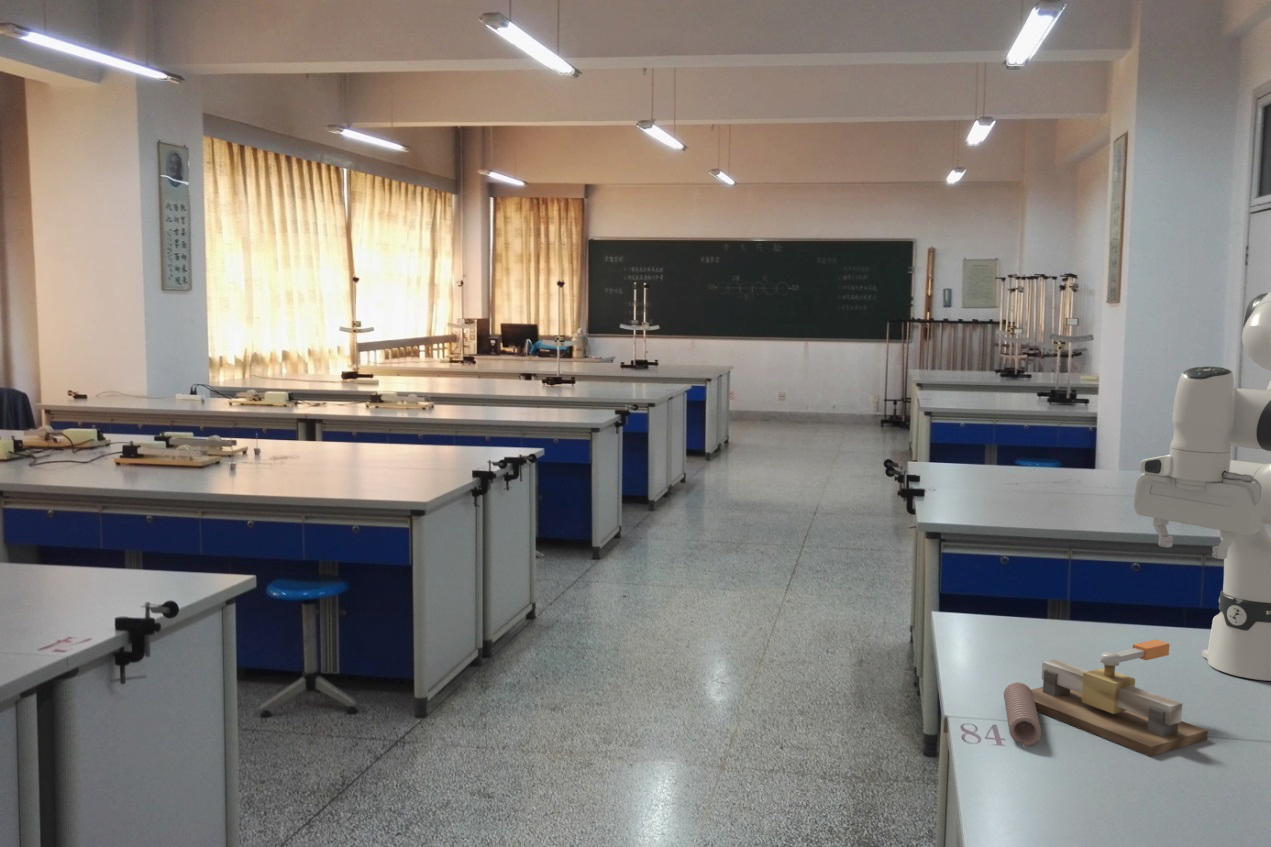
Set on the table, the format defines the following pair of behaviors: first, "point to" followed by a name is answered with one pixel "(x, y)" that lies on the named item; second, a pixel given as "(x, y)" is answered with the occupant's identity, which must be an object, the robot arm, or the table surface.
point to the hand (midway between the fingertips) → (1191, 552)
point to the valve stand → (1114, 708)
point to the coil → (1022, 714)
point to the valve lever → (1137, 652)
